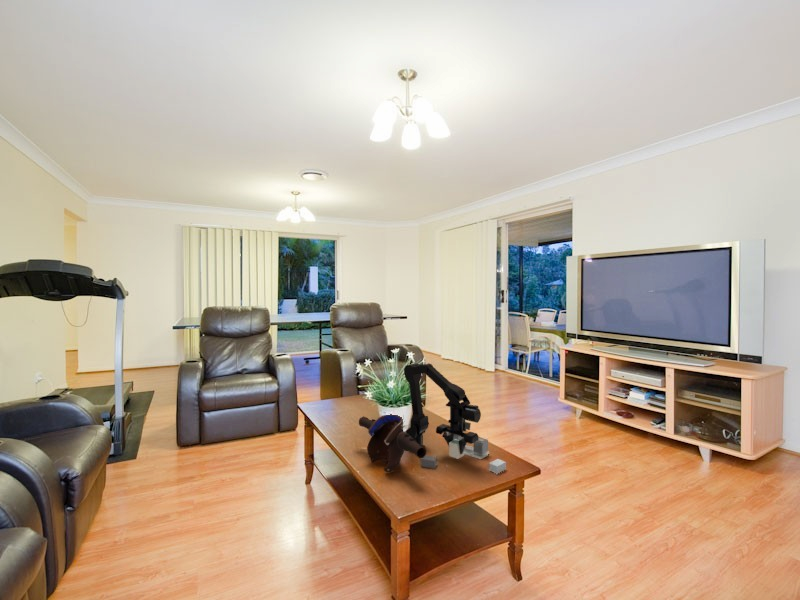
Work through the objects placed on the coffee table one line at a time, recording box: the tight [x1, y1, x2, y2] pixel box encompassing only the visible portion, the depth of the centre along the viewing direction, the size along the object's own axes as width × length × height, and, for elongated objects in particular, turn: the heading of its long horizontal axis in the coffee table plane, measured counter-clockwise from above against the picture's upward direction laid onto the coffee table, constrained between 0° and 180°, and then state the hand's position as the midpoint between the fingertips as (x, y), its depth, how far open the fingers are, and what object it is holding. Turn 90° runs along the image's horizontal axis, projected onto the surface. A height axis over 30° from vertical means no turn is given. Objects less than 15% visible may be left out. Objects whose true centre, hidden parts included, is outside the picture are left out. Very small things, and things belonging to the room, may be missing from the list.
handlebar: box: [358, 414, 427, 473], centre depth 163 cm, size 45×13×20 cm, turn 37°
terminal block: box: [488, 458, 507, 475], centre depth 158 cm, size 6×4×4 cm, turn 129°
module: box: [448, 439, 465, 460], centre depth 167 cm, size 5×5×6 cm
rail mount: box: [453, 435, 490, 460], centre depth 176 cm, size 7×17×7 cm, turn 49°
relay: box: [420, 454, 438, 469], centre depth 162 cm, size 4×6×4 cm, turn 72°
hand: (456, 452), depth 167 cm, fingers closed on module, 4 cm apart
